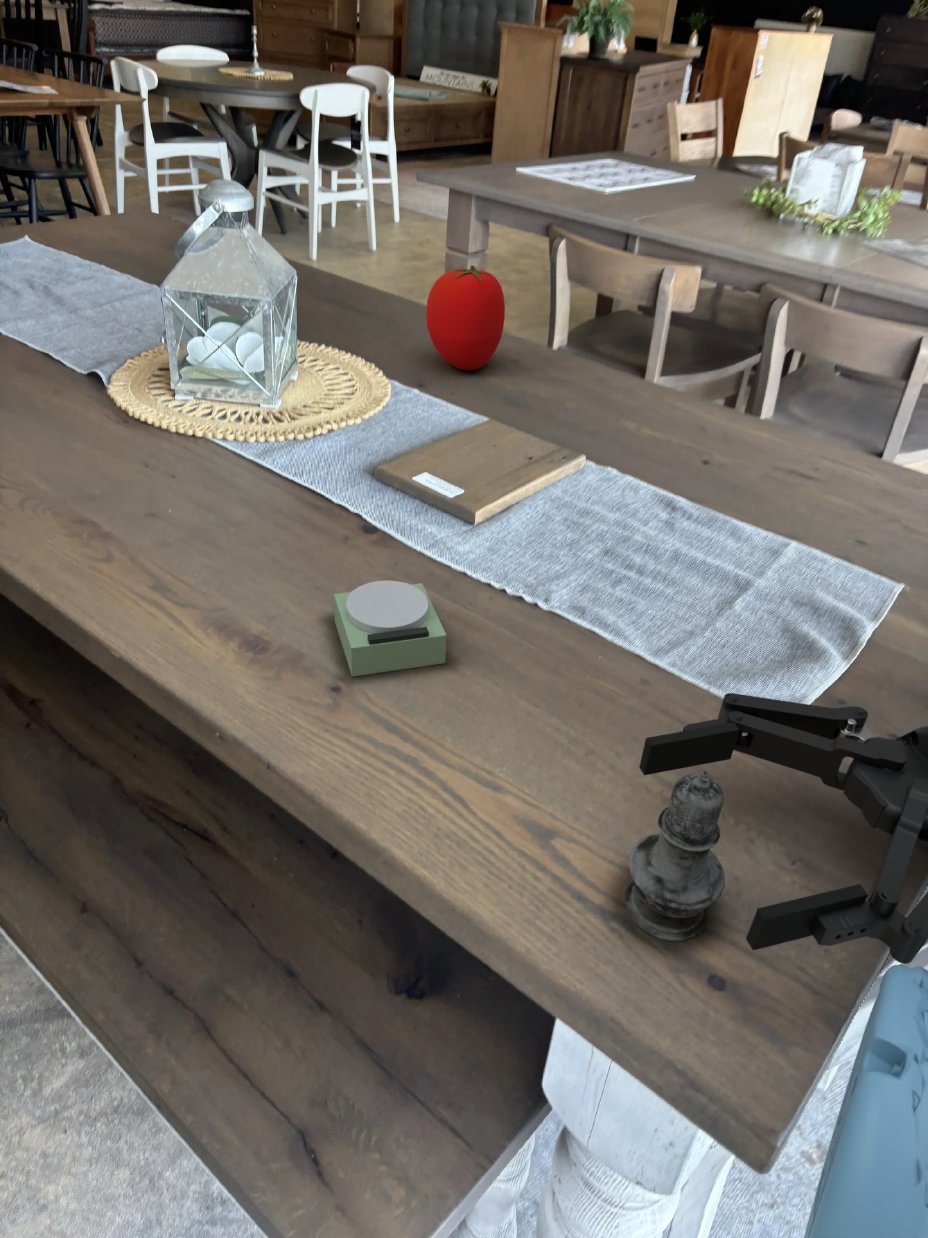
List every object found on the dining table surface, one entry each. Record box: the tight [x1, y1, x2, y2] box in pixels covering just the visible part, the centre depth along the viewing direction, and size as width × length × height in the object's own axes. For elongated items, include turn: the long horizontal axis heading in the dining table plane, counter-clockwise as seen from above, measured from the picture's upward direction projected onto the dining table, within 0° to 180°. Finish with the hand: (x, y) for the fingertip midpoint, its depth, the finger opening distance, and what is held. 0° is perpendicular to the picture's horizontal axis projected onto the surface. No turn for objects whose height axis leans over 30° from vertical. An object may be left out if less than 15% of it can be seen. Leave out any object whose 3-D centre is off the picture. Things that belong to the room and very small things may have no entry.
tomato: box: [425, 264, 506, 371], centre depth 131 cm, size 13×11×14 cm
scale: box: [333, 580, 448, 677], centre depth 78 cm, size 8×8×4 cm
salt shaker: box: [624, 770, 726, 942], centre depth 54 cm, size 6×6×12 cm
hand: (694, 835), depth 54 cm, fingers open, 13 cm apart
